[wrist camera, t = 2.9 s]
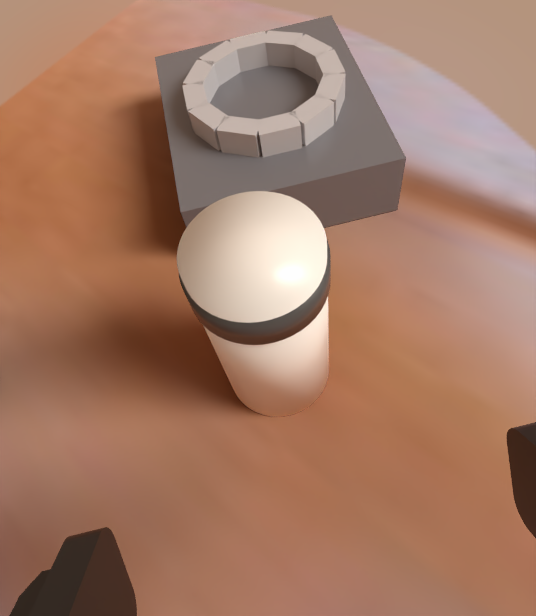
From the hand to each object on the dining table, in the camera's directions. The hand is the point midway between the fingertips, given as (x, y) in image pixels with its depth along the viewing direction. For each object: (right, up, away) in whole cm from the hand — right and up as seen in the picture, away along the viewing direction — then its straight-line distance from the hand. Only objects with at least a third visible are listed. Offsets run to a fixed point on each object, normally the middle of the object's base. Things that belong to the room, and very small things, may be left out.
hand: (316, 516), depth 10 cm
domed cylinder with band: (0, +1, +15) cm, 15 cm away
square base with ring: (-1, +14, +23) cm, 27 cm away
